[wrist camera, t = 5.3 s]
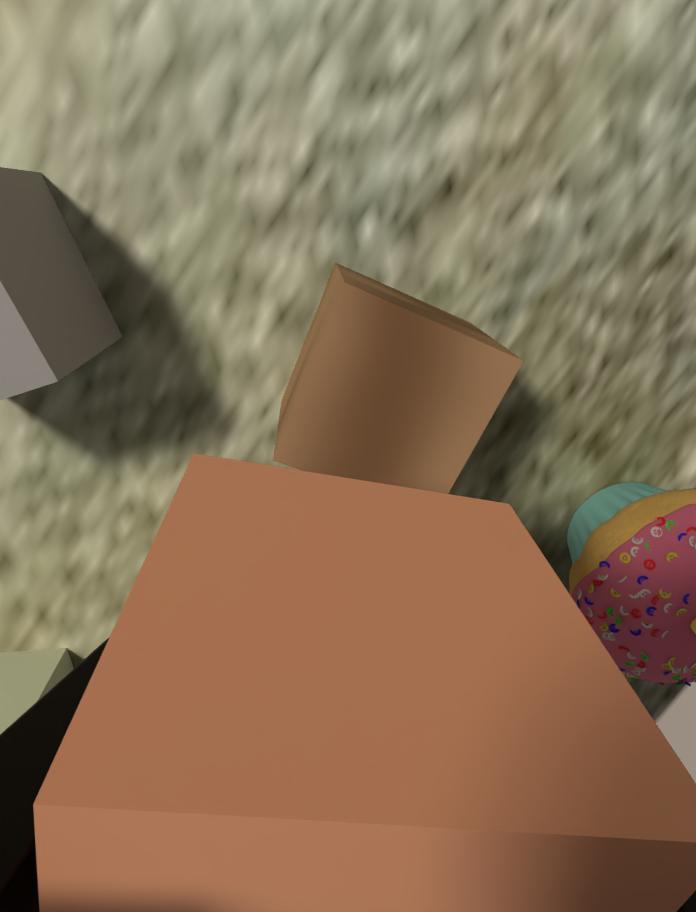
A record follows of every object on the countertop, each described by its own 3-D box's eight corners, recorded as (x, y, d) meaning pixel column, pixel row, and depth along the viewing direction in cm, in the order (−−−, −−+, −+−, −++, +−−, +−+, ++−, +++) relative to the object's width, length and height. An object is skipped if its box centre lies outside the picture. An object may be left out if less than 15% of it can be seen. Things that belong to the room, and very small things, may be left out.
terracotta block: (509, 503, 9) (736, 844, 4) (424, 714, 12) (511, 1095, 7) (193, 453, 8) (32, 804, 4) (169, 691, 11) (52, 1107, 6)
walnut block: (469, 322, 20) (523, 360, 15) (406, 446, 22) (435, 516, 17) (335, 262, 19) (344, 282, 14) (281, 399, 21) (273, 460, 16)
